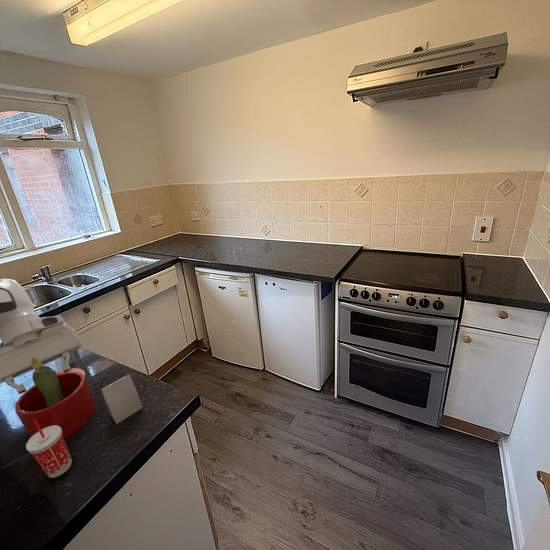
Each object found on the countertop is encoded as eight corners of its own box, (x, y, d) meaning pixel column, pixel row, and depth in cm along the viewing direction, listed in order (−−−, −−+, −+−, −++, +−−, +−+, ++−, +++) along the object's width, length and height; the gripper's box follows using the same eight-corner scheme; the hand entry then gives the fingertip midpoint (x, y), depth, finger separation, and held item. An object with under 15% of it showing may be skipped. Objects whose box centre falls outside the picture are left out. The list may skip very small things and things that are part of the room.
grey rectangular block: (142, 407, 79) (132, 377, 76) (116, 424, 75) (103, 393, 71) (137, 401, 82) (126, 371, 78) (111, 416, 78) (99, 386, 74)
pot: (33, 455, 69) (15, 425, 66) (29, 420, 80) (14, 392, 76) (101, 418, 77) (89, 389, 74) (90, 390, 88) (79, 364, 85)
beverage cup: (71, 449, 69) (48, 403, 64) (79, 464, 65) (55, 416, 60) (40, 470, 65) (12, 422, 60) (47, 487, 61) (18, 438, 56)
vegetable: (56, 415, 79) (25, 353, 72) (74, 408, 81) (46, 347, 74) (53, 427, 76) (20, 363, 68) (72, 420, 77) (42, 356, 70)
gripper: (-36, 350, 68) (-13, 404, 65) (67, 313, 81) (90, 356, 78) (-27, 359, 72) (-6, 409, 69) (69, 322, 85) (90, 363, 82)
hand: (46, 381), depth 74 cm, fingers open, 8 cm apart
